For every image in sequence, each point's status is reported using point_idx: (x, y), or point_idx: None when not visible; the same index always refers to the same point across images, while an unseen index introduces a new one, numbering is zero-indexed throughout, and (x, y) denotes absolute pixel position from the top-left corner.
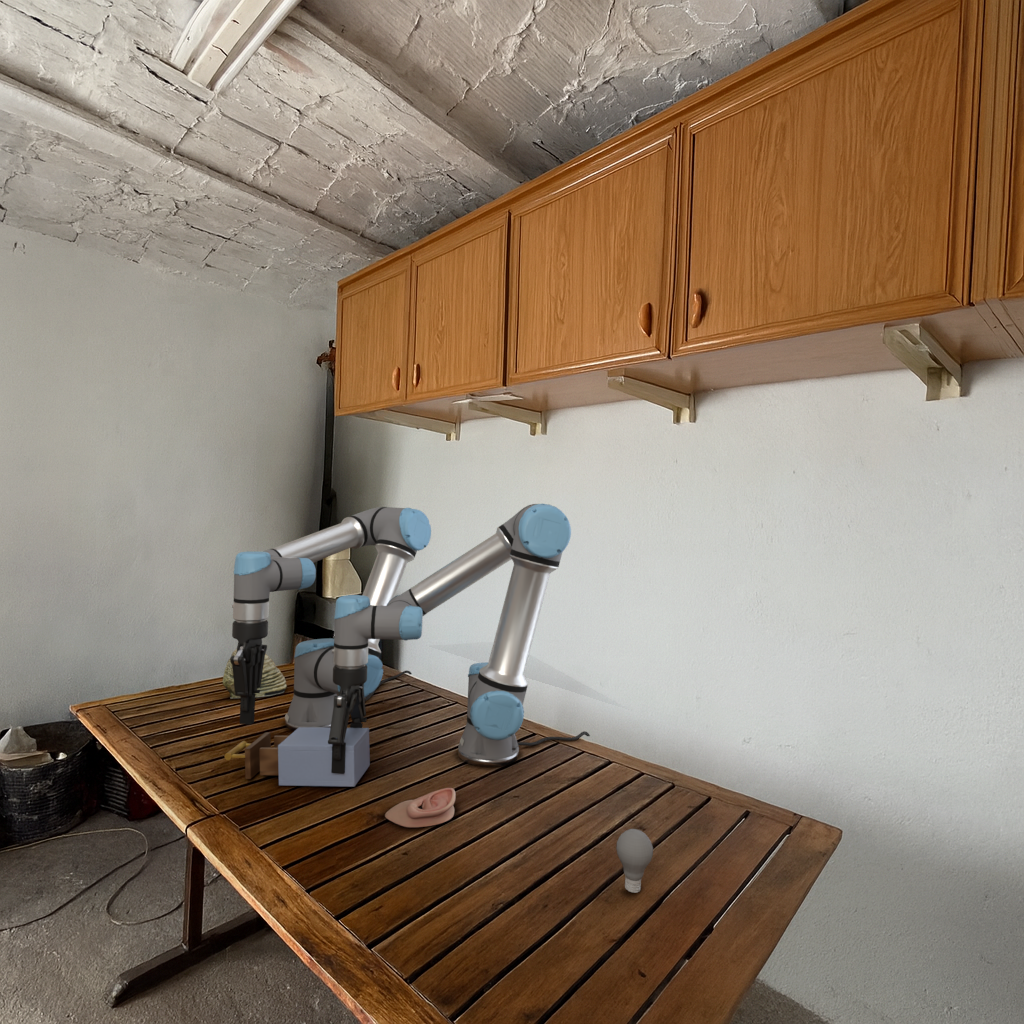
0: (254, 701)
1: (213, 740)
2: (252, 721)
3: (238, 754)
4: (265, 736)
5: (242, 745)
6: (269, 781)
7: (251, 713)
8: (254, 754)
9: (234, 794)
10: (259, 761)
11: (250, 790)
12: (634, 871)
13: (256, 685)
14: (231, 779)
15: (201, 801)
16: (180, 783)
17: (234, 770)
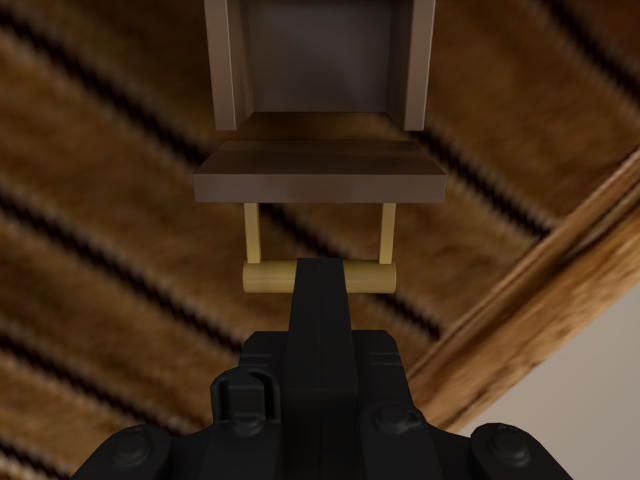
0: (300, 341)
1: (95, 430)
2: (324, 264)
3: (386, 238)
4: (258, 174)
5: (285, 268)
6: None
7: (345, 294)
8: (389, 161)
9: (519, 148)
10: (335, 149)
11: (484, 103)
12: None
13: (223, 472)
14: (395, 220)
15: (573, 233)
16: (442, 359)
17: (319, 246)
